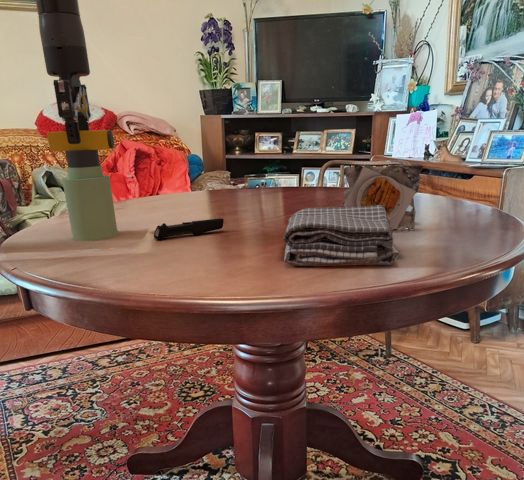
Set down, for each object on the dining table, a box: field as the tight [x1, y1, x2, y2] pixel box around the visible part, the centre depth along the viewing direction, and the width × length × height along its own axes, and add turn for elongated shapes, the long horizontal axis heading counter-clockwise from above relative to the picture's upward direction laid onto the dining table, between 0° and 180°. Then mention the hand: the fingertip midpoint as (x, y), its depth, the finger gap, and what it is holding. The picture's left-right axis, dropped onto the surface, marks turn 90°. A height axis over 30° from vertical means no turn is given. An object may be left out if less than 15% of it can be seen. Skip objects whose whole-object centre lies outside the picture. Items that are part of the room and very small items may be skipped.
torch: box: [46, 129, 115, 153], centre depth 98 cm, size 12×3×4 cm, turn 95°
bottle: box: [61, 150, 119, 242], centre depth 102 cm, size 9×9×18 cm
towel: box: [282, 205, 399, 267], centre depth 87 cm, size 15×18×8 cm
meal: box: [341, 164, 424, 230], centre depth 105 cm, size 15×4×13 cm, turn 90°
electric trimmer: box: [153, 217, 225, 241], centre depth 109 cm, size 4×16×3 cm, turn 117°
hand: (80, 143), depth 98 cm, fingers open, 8 cm apart
